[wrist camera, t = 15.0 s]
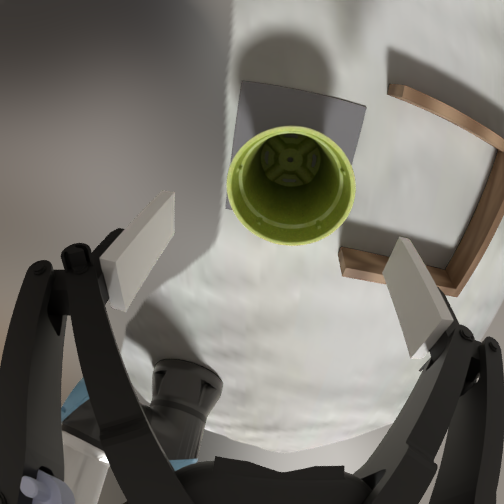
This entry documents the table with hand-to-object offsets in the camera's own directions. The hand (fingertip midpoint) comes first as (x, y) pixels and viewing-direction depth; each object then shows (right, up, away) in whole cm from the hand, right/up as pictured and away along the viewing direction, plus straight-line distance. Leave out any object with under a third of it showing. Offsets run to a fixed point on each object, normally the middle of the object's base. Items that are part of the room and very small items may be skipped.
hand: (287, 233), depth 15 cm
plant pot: (+2, +8, +11) cm, 14 cm away
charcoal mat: (+2, +8, +11) cm, 14 cm away
